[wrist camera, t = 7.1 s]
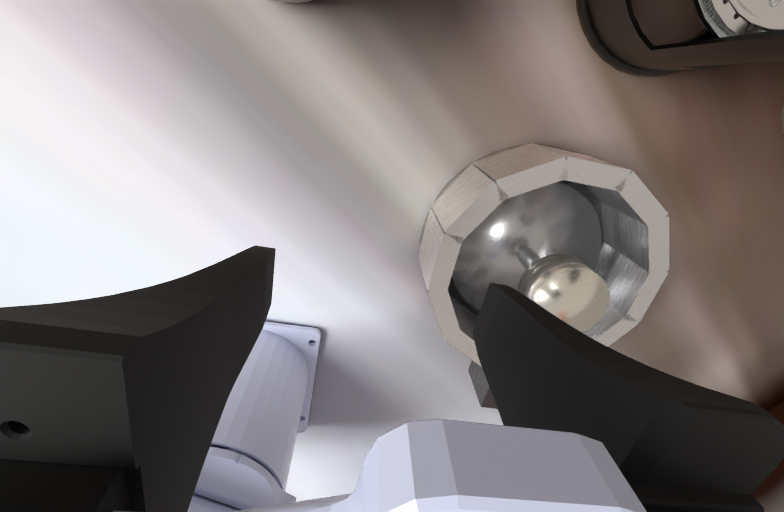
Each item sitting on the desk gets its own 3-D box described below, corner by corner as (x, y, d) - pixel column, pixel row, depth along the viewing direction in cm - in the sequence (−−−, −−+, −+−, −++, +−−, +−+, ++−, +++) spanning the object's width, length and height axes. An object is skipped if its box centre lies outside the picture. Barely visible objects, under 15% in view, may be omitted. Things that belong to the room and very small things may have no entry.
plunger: (561, 321, 24) (615, 388, 19) (432, 302, 23) (451, 368, 18) (621, 193, 21) (708, 231, 15) (473, 163, 20) (512, 193, 14)
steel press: (549, 371, 27) (581, 422, 23) (391, 351, 26) (395, 402, 22) (649, 167, 21) (717, 188, 17) (449, 124, 20) (470, 135, 15)
